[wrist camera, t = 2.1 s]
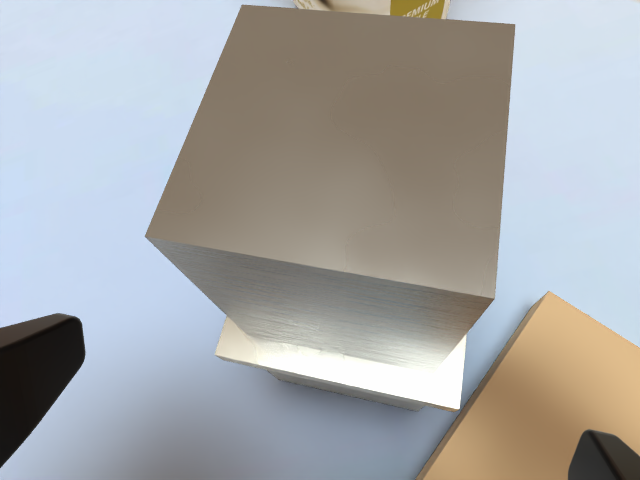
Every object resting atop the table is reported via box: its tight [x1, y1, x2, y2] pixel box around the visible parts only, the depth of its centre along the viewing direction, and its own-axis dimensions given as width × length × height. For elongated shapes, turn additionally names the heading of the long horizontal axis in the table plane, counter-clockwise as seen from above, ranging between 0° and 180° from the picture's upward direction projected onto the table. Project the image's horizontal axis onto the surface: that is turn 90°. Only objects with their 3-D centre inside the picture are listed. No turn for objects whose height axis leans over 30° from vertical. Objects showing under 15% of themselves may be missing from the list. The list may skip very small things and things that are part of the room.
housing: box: [145, 5, 515, 412], centre depth 13 cm, size 6×6×13 cm
